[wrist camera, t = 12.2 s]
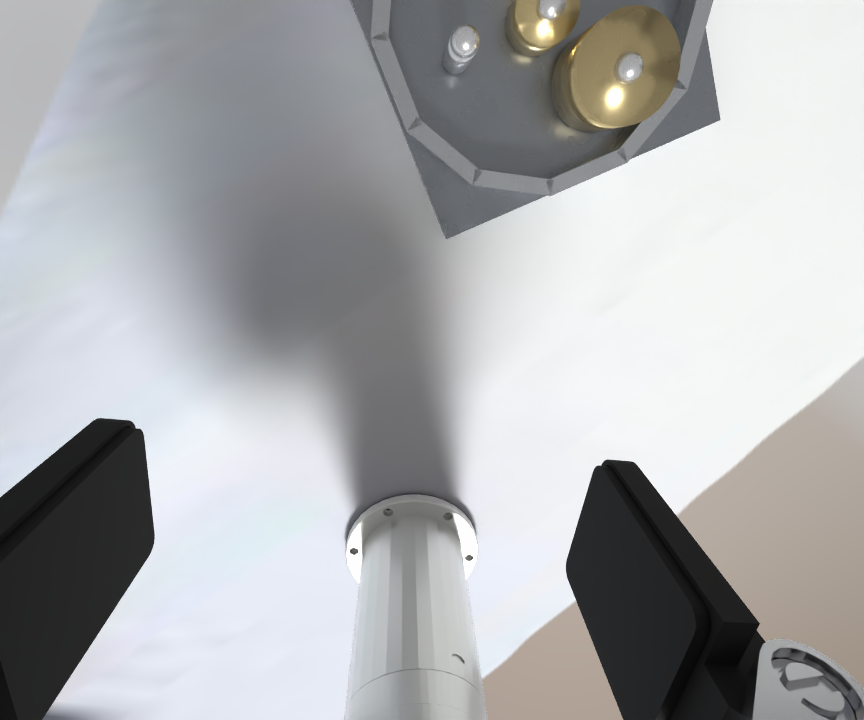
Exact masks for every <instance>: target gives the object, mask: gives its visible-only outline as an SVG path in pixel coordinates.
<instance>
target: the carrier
mask: <svg viewBox="0 0 864 720" xmlns="http://www.w3.org/2000/svg"><path fill="white" fill-rule="evenodd" d="M350 1H351V3H352V6H353V8H354V11H355V13H356V16H357V18H358V21H359V23H360V26H361V28H362V31H363V33H364V36H365V38H366V41H367V43H368V46H369V48H370V51H371V53H372V56H373V58H374V61H375V63H376V66H377V68H378V71H379V73H380V76H381V78H382V81H383V83H384V86H385V88H386V91H387V93H388V96H389V98H390V101H391V103H392V106H393V108H394V111H395V113H396V116H397V118H398V121H399V123H400V126H401V128H402V131H403V133H404V136H405V138H406V141H407V143H408V146H409V148H410V151H411V153H412V156H413V158H414V161H415V163H416V166H417V168H418V171H419V173H420V176H421V178H422V181H423V183H424V186H425V188H426V191H427V193H428V196H429V198H430V201H431V203H432V206H433V208H434V211H435V213H436V216H437V218H438V221H439V223H440V226H441V228H442V231H443V233H444V236H445V238H446V239H448V238H450V237H452V236H455V235H457V234H459V233H461V232H464V231H466V230H468V229H471V228H473V227H475V226H478V225H480V224H482V223H484V222H487V221H489V220H491V219H494V218H496V217H498V216H501V215H503V214H505V213H507V212H510V211H512V210H514V209H517V208H519V207H521V206H524V205H526V204H528V203H530V202H533V201H535V200H537V199H540V198H542V197H544V196H547V195H548V196H551V195H554V194H556V193H558V192H561V191H563V190H565V189H568V188H570V187H572V186H574V185H577V184H579V183H581V182H584V181H586V180H588V179H591V178H593V177H595V176H598V175H600V174H602V173H604V172H607V171H609V170H611V169H614V168H616V167H618V166H621V165H623V164H625V163H627V162H628V161H629V160H630V159H632V158H634V157H636V156H639V155H641V154H643V153H646V152H648V151H650V150H652V149H655V148H657V147H659V146H662V145H664V144H666V143H669V142H671V141H673V140H675V139H678V138H680V137H682V136H685V135H687V134H689V133H692V132H694V131H696V130H698V129H701V128H703V127H705V126H708V125H710V124H712V123H715V122H717V121H719V120H720V115H719V108H718V102H717V96H716V90H715V83H714V77H713V71H712V65H711V59H710V52H709V46H708V40H707V34H706V24H707V21H708V17H709V14H710V10H711V7H712V3H713V0H350Z"/></svg>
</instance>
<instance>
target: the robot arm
mask: <svg viewBox="0 0 864 720" xmlns="http://www.w3.org/2000/svg"><path fill="white" fill-rule="evenodd" d="M153 544H154V526H153V516H152V507H151V498H150V488H149V479H148V470H147V460H146V451H145V442H144V435H143V432H142V430H141V429H136V428H135V425H134V424H133V422H131V421H128V420H116V419H104V418H99V419H96V420H94V421H93V422H91V423H90V424H89V425H88V426H87V427H85V428H84V429H83V430H82V431H80V432H79V433H78V434H77V435H76V436H74V437H73V438H72V439H71V440H70V441H68V442H67V443H66V444H65V445H63V446H62V447H61V448H60V449H59V450H57V451H56V452H55V453H54V454H53V455H51V456H50V457H49V458H48V459H46V460H45V461H44V462H43V463H42V464H40V465H39V466H38V467H37V468H35V469H34V470H33V471H32V472H31V473H29V474H28V475H27V476H26V477H25V478H23V479H22V480H21V481H20V482H18V483H17V484H16V485H15V486H14V487H12V488H11V489H10V490H9V491H8V492H6V493H5V494H4V495H3V496H1V497H0V720H42V719H43V717H44V716H45V714H46V713H47V711H48V710H49V708H50V707H51V705H52V703H53V702H54V700H55V699H56V697H57V696H58V694H59V693H60V691H61V690H62V688H63V687H64V685H65V684H66V682H67V681H68V679H69V677H70V676H71V674H72V673H73V671H74V670H75V668H76V667H77V665H78V664H79V662H80V661H81V659H82V658H83V656H84V654H85V653H86V651H87V650H88V648H89V647H90V645H91V644H92V642H93V641H94V639H95V638H96V636H97V635H98V633H99V632H100V630H101V628H102V627H103V625H104V624H105V622H106V621H107V619H108V618H109V616H110V615H111V613H112V612H113V610H114V609H115V607H116V606H117V604H118V602H119V601H120V599H121V598H122V596H123V595H124V593H125V592H126V590H127V589H128V587H129V586H130V584H131V583H132V581H133V579H134V578H135V576H136V575H137V573H138V572H139V570H140V569H141V567H142V566H143V564H144V563H145V561H146V560H147V558H148V557H149V555H150V553H151V551H152V548H153ZM477 555H478V543H477V538H476V533H475V530H474V528H473V525H472V523H471V521H470V520H469V519H468V518H467V516H466V515H465V514H464V513H463V512H462V511H461V510H460V509H458V508H457V507H456V506H454V505H452V504H451V503H449V502H447V501H445V500H442V499H439V498H436V497H433V496H427V495H420V494H414V495H401V496H395V497H392V498H389V499H386V500H383V501H380V502H379V503H377V504H375V505H373V506H371V507H370V508H369V509H367V510H366V511H365V512H363V513H362V514H361V515H360V516H359V518H358V519H357V520H356V521H355V522H354V524H353V526H352V528H351V530H350V532H349V535H348V539H347V544H346V561H347V565H348V567H349V570H350V572H351V574H352V575H353V577H354V578H355V580H356V581H357V582H358V583H359V587H358V596H357V605H356V615H355V624H354V633H353V642H352V651H351V660H350V669H349V678H348V687H347V697H346V707H345V716H344V720H488V718H487V712H486V705H485V698H484V692H483V685H482V678H481V672H480V665H479V658H478V652H477V645H476V638H475V632H474V625H473V618H472V612H471V605H470V598H469V592H468V585H467V578H468V576H469V575H470V573H471V572H472V570H473V568H474V566H475V563H476V561H477ZM566 573H567V578H568V581H569V583H570V586H571V588H572V591H573V593H574V596H575V598H576V601H577V603H578V606H579V608H580V611H581V613H582V616H583V618H584V621H585V623H586V626H587V629H588V631H589V634H590V636H591V639H592V641H593V644H594V646H595V649H596V651H597V654H598V656H599V659H600V662H601V664H602V667H603V669H604V672H605V674H606V677H607V679H608V682H609V684H610V687H611V689H612V692H613V695H614V697H615V699H616V702H617V705H618V707H619V710H620V712H621V715H622V717H623V719H624V720H864V689H863V688H862V686H861V685H860V684H859V683H858V682H857V681H856V680H855V679H854V678H853V677H852V676H851V675H850V674H849V673H848V672H847V671H846V670H844V669H843V668H842V667H841V666H839V665H838V664H837V663H836V662H834V661H833V660H832V659H830V658H828V657H827V656H825V655H823V654H822V653H820V652H818V651H817V650H815V649H813V648H811V647H808V646H806V645H804V644H802V643H799V642H795V641H791V640H787V639H771V640H769V641H767V642H765V641H764V640H763V638H762V637H761V636H760V634H759V633H758V632H757V628H758V626H759V624H760V623H759V622H758V621H757V619H756V618H755V617H754V616H753V614H752V613H751V612H750V610H749V609H748V608H747V606H746V605H745V604H744V603H743V601H742V600H741V599H740V597H739V596H738V595H737V594H736V592H735V591H734V590H733V589H732V587H731V586H730V585H729V583H728V582H727V581H726V579H725V578H724V577H723V576H722V574H721V573H720V572H719V570H718V569H717V568H716V566H715V565H714V564H713V563H712V561H711V560H710V559H709V557H708V556H707V555H706V554H705V552H704V551H703V550H702V548H701V547H700V546H699V545H698V543H697V542H696V541H695V539H694V538H693V537H692V536H691V534H690V533H689V532H688V530H687V529H686V528H685V526H684V525H683V524H682V523H681V521H680V520H679V519H678V517H677V516H676V515H675V514H674V512H673V511H672V510H671V508H670V507H669V506H668V505H667V503H666V502H665V501H664V499H663V498H662V497H661V496H660V494H659V493H658V492H657V490H656V489H655V488H654V486H653V485H652V484H651V483H650V481H649V480H648V479H647V477H646V476H645V475H644V474H643V472H642V471H641V470H640V468H639V467H638V466H637V465H636V464H635V463H634V462H630V461H618V460H605V461H604V462H603V463H602V465H601V466H596V467H595V469H594V471H593V474H592V477H591V481H590V484H589V487H588V491H587V494H586V497H585V501H584V504H583V507H582V511H581V514H580V517H579V521H578V524H577V528H576V531H575V534H574V538H573V541H572V544H571V548H570V551H569V554H568V558H567V562H566Z"/></svg>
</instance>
